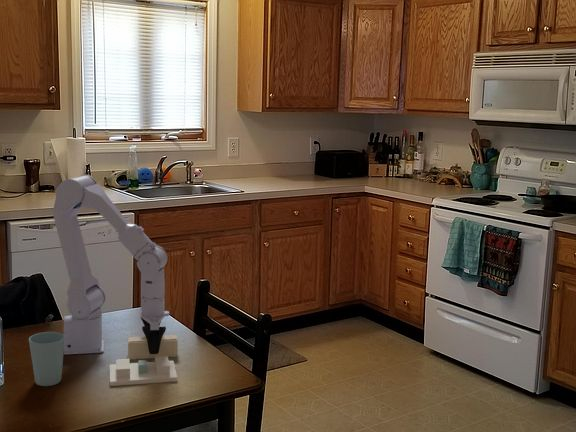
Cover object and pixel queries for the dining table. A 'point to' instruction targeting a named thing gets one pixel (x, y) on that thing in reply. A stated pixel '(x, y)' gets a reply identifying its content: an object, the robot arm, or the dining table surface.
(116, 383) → the display stand
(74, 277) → the robot arm
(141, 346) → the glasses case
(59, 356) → the cup
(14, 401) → the dining table surface
